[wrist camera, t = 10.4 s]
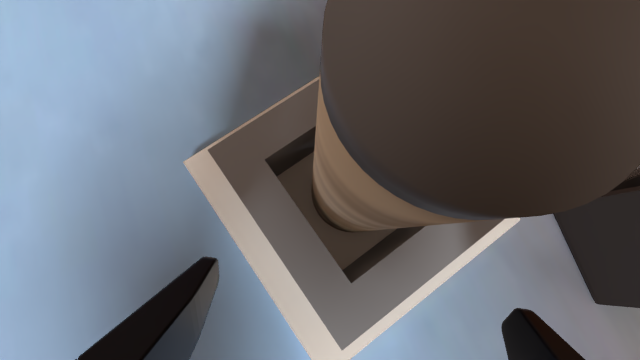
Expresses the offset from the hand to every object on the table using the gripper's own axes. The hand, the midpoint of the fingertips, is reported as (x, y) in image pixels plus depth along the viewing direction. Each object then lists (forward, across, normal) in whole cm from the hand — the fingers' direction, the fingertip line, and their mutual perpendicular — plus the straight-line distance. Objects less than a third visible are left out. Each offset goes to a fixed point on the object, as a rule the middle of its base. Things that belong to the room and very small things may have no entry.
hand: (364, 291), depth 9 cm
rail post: (+8, 0, +2) cm, 8 cm away
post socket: (+9, 0, +3) cm, 9 cm away
